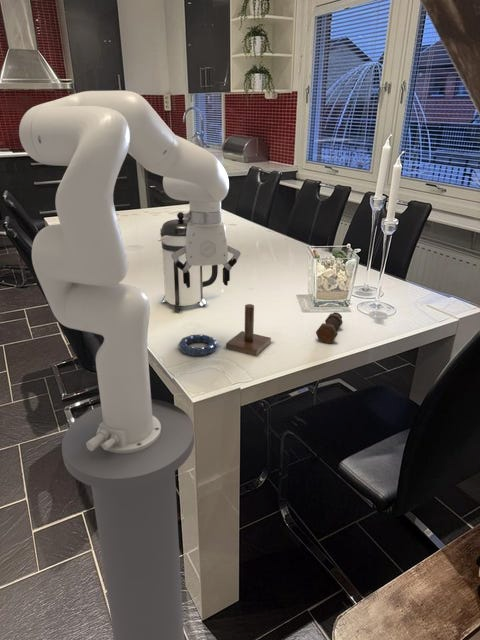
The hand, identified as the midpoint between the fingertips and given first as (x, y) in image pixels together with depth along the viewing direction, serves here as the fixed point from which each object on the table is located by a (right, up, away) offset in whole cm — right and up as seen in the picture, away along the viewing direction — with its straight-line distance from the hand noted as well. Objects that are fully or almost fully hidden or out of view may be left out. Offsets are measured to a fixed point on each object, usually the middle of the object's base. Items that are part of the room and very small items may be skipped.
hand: (206, 285), depth 119 cm
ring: (-3, -16, +4) cm, 16 cm away
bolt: (+35, -13, +15) cm, 40 cm away
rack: (+11, -16, +7) cm, 20 cm away
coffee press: (-9, -4, +35) cm, 36 cm away
